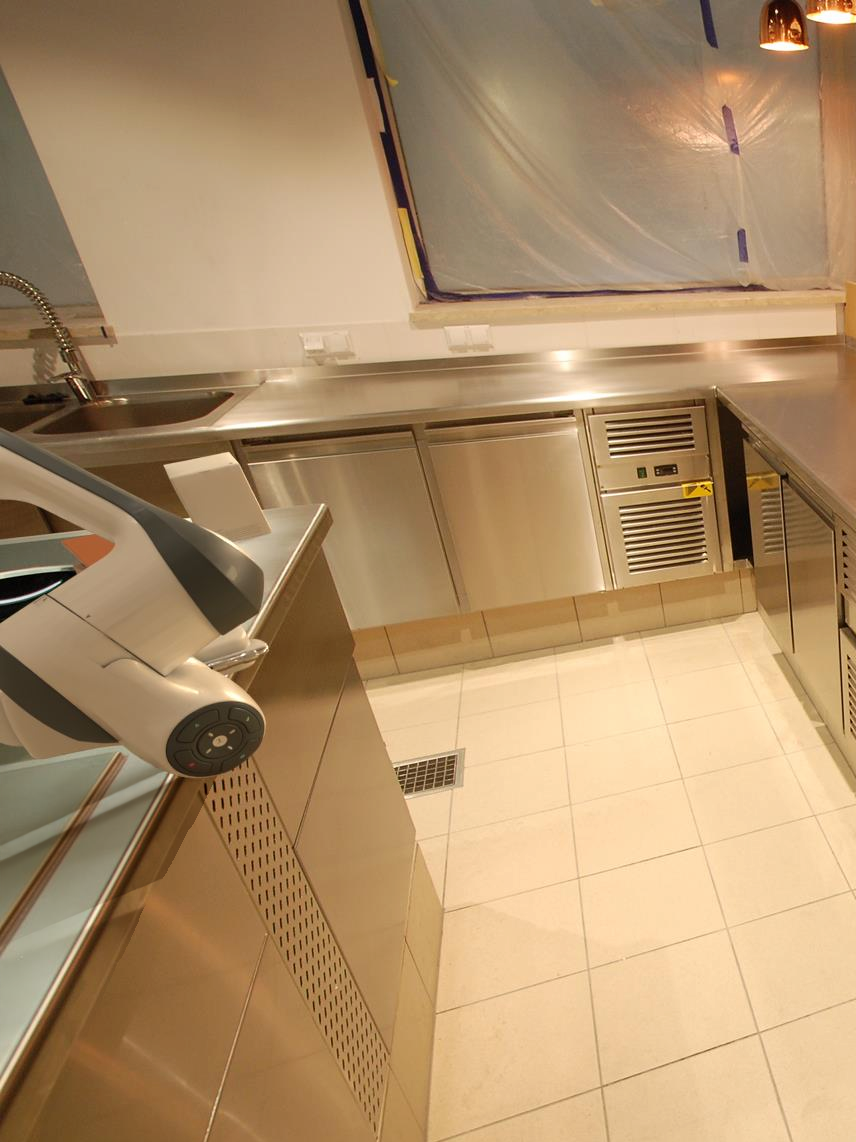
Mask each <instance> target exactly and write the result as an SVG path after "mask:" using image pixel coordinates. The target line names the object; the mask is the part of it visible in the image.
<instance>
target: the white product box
mask: <svg viewBox="0 0 856 1142" xmlns="http://www.w3.org/2000/svg"><path fill="white" fill-rule="evenodd" d="M162 466H163V468H164V470H165V472H166V475H167V476H168V479H169V481H170V483H171V486H172V488H173V489H174V491H175V493H176V496H178V498H179V500H180V502H181V504H182V506H183V508H184V510H185V511H186V513H187V515H188V517H189V519H190V521H191V522H192V523H194V524H196V525H198V526H201V527H204V528H206V529H209V530H211V531H213V532H215V533H218V534H220V535H222V536H223V537H225V538H227V539H229V540H230V541H232V542H233V543H235V542H239V541H243V540H247V539H250V538H255V537H259V536H262V535H267V534H271V533H273V530H272V528H271V525H270V524H269V521H268V520H267V518H266V516H265V514H264V512H263V510H262V508H261V505H260V503H259V501H258V500H257V498H256V495H255V493H254V491H253V489H252V487H251V484H250V483H249V481H248V479H247V477H246V475H245V473H244V471H243V468H242V466H241V464H240V463H239V462H238V461H237V460H236V459H235V458H234V456H233V455H232V454H231V452H229V451H227V452H221V453H217V454H211V455H207V456H201V457H198V458H192V459H188V460H183V461H177V462H173V463H167V464H163V465H162Z"/></svg>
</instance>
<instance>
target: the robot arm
mask: <svg viewBox="0 0 856 1142" xmlns="http://www.w3.org/2000/svg"><path fill="white" fill-rule="evenodd" d="M0 500H3V501H6V500H7V501H9V500H10V501H19V502H24V503H28V504H31V505H34V506H37V507H39V508H41V509H43V510H45V511H47V512H49V513H52V514H53V515H55V516H57V517H59V518H61V519H63V520H65V521H68V522H69V523H71V524H73V525H74V526H77V527H79V528H80V529H83V530H84V531H85V530H86V532H89V533H90V534H92V535H93V534H95V535H97V536H99V537H101V538H103V539H105V540H107V541H109V542H111V543H113V544H115V546H114V548H113V549H112V551H111V552H110V553H109V554H108V555H106V556H105V557H103V558H102V559H100V560H99V561H97V562H96V563H94V564H93V565H91V566H90V567H88V568H86V569H85V570H83V571H82V572H80V573H79V574H77V573H76V575H74V576H72V577H70V578H69V579H68V580H67V581H65V582H63V583H62V584H60V585H59V586H57V587H56V588H54V589H52V590H51V591H49V592H48V593H47V594H43V595H41V596H39V597H38V598H37V599H35V600H33V601H32V602H30V603H28V604H27V605H26V606H24V607H23V608H21V609H19V610H18V611H16V612H15V613H14V614H12V615H10V616H9V617H8V618H6V619H5V620H3V621H1V622H0V744H2V745H6V746H10V747H23V748H24V749H25V750H26V752H27V753H28V754H29V756H31V758H33V759H35V760H47V759H52V758H56V757H60V756H65V755H69V754H75V753H78V752H83V751H88V750H93V749H94V750H95V749H100V748H108V747H117V746H123V748H125V749H126V750H127V751H128V752H130V753H131V754H133V755H134V756H136V757H137V758H139V759H140V760H142V761H143V762H145V763H146V764H149V765H150V766H153V767H155V768H156V769H159V770H161V771H164V772H166V773H168V774H171V775H174V776H178V777H181V778H186V779H208V778H213V777H218V776H220V775H223V774H226V773H228V772H231V771H232V770H234V769H236V768H237V767H239V766H241V765H242V764H243V763H245V762H246V761H247V760H248V759H249V758H251V757H252V756H253V755H254V754H255V752H256V751H257V750H258V749H259V747H261V745H262V742H263V740H264V738H265V734H266V729H267V721H266V718H265V715H264V712H263V711H262V709H261V707H260V706H259V705H258V703H257V702H256V701H255V700H254V699H253V697H251V695H250V694H248V692H246V691H245V690H244V689H243V688H242V687H241V686H240V685H238V684H237V683H236V682H235V681H233V680H232V679H230V678H229V677H227V676H228V675H232V674H234V673H238V672H240V671H243V670H245V669H248V668H249V667H252V666H253V665H254V664H255V663H256V661H257V660H258V659H259V658H260V656H261V655H263V654H267V653H268V652H270V646H269V645H268V643H266V642H265V641H263V640H261V639H259V638H249V636H248V633H247V632H246V630H245V629H244V627H243V626H242V625H243V624H244V623H245V622H247V621H249V620H251V619H252V618H254V617H256V616H257V615H258V614H260V611H261V608H262V603H263V601H264V600H263V599H264V594H265V592H264V591H265V574H264V571H263V569H262V568H261V567H260V566H259V565H258V564H257V563H256V561H255V560H254V559H253V558H252V557H251V556H250V554H248V553H247V552H246V551H245V550H244V549H243V548H242V547H240V546H239V545H237V544H236V543H235V542H232V541H230V540H229V539H227V538H225V537H223V536H222V535H220V534H218V533H215V532H213V531H211V530H209V529H206V528H204V527H201V526H198V525H196V524H194V523H193V522H192V521H191V520H187V519H185V518H183V517H181V516H179V515H176V514H174V513H172V512H170V511H167V510H165V509H163V508H161V507H158V506H156V505H154V504H152V503H150V502H148V501H146V500H144V499H142V498H140V497H138V496H137V495H134V494H132V493H131V492H129V491H127V490H125V489H123V488H121V487H119V486H117V485H115V484H114V483H112V482H109V481H107V480H106V479H104V478H102V477H100V476H97V475H95V474H94V473H92V472H90V471H89V470H86V469H85V468H83V467H80V466H78V465H76V464H75V463H72V462H71V461H68V460H67V459H65V458H64V457H61V456H59V455H57V454H55V453H53V452H51V451H49V450H47V449H45V448H43V447H41V446H39V445H37V444H35V443H34V442H31V441H29V440H27V439H25V438H23V437H21V436H19V435H18V434H15V433H13V432H11V431H9V430H7V429H4V428H2V427H0Z"/></svg>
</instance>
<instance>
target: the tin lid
mask: <svg viewBox="0 0 856 1142" xmlns="http://www.w3.org/2000/svg"><path fill="white" fill-rule="evenodd" d="M60 542H61V545H62V547H64V548H65V549H66V550H67V551H69V553H70V554H72V556H73V557H75V558H76V559H77V560H78V561H79V562H80V563H82V564H84V565H85V566H86V567H87V568H88V567H90V566H91V565H93V564H94V563H96V562H97V561H99V560H100V559H102V558H103V557H105V556H106V555H108V554H109V553H110V552H111V551H112V549H113V548H114V546H115V544H113V543H111V542H109V541H107V540H105V539H103V538H101V537H99V536H97V535H95V534H93V533H92V534H88V535H82V536H77V537H73V538H67V539H62V540H60Z"/></svg>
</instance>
